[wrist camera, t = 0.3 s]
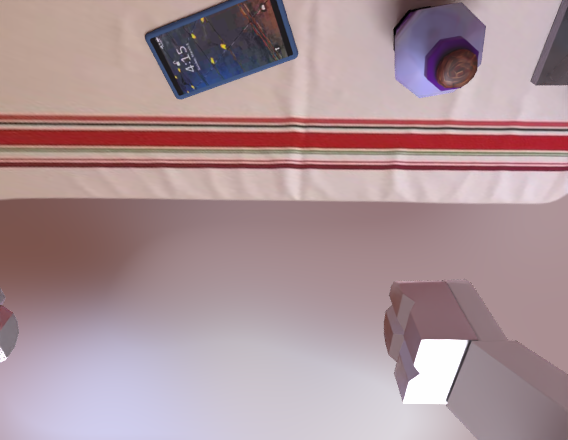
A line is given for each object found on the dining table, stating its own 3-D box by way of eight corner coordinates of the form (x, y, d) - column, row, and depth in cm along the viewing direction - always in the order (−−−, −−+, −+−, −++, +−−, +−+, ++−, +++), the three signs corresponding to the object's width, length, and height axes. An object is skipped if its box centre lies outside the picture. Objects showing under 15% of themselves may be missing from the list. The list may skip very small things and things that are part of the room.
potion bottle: (396, 90, 45) (426, 137, 36) (364, 21, 41) (389, 55, 31) (470, 47, 43) (524, 86, 33) (444, -31, 38) (499, -12, 29)
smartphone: (299, 57, 43) (177, 101, 46) (299, 55, 43) (178, 99, 46) (276, -19, 38) (142, 35, 41) (276, -20, 39) (144, 33, 42)
